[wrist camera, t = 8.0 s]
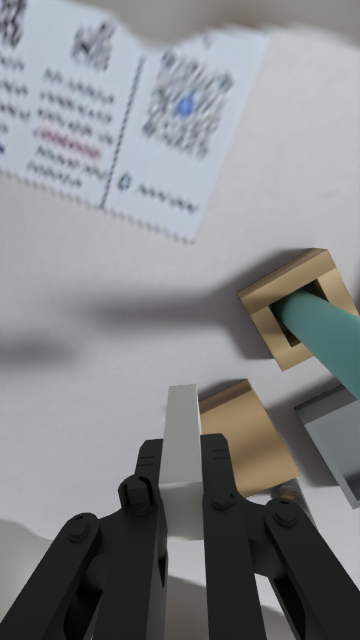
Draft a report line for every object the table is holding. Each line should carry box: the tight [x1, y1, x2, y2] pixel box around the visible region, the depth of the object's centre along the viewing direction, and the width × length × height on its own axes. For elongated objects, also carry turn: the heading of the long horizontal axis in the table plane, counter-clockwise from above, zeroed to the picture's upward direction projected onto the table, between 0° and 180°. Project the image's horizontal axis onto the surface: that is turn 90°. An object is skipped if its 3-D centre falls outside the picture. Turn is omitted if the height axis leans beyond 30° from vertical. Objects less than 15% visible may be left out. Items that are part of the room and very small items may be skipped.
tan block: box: [198, 379, 301, 498], centre depth 28 cm, size 10×6×2 cm, turn 31°
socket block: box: [237, 248, 360, 371], centre depth 24 cm, size 7×7×2 cm
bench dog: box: [268, 478, 318, 530], centre depth 27 cm, size 3×3×6 cm
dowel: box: [274, 288, 360, 401], centre depth 17 cm, size 3×3×16 cm
